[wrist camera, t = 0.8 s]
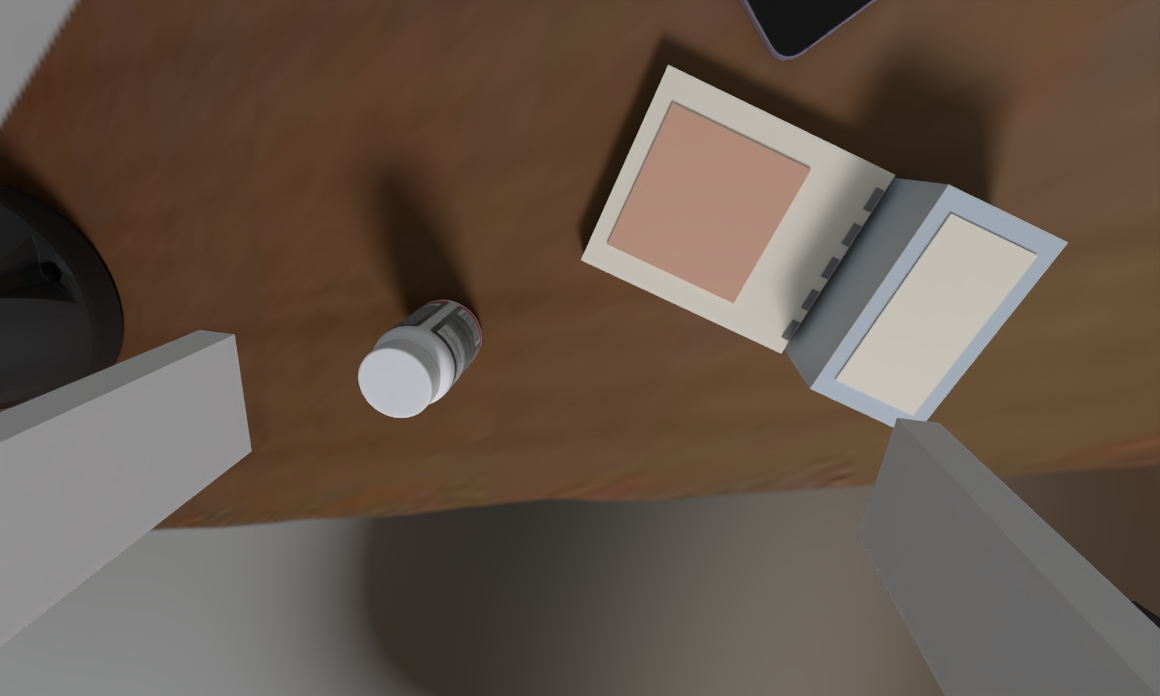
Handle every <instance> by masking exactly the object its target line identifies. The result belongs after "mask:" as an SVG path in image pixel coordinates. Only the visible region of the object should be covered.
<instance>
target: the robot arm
mask: <svg viewBox="0 0 1160 696" xmlns="http://www.w3.org/2000/svg"><path fill="white" fill-rule="evenodd" d="M122 339H123V321H122V313H121V308H120V304H119V300H118V297H117V294H116V291H115V288H114V286H113V283H112V281H111V279H110V277H109V275H108V273H107V271H106V269H105V267H104V266H103V264H102V262H101V261H100V259H99V257H98V256H97V254H96V253H95V252H94V250H93V249H92V248H91V246H90V245H89V244H88V243H87V241H86V240H85V239H84V238H83V237H82V236H81V235H80V233H79V232H78V231H77V230H76V229H75V228H74V227H73V226H72V225H71V224H69V223H68V222H67V221H66V220H65V219H64V218H63V217H61V216H60V215H59V214H58V213H56V212H55V211H54V210H52V209H51V208H49V207H48V206H46V205H45V204H43V203H42V202H40V201H38V200H36V199H35V198H33V197H31V196H29V195H27V194H24V193H22V192H19V191H17V190H14V189H11V188H8V187H4V186H0V409H5V408H10V409H7V410H5V411H3V412H0V646H1V645H3V644H4V643H5V642H7V641H8V640H9V639H11V638H12V637H13V636H14V635H16V634H17V633H18V632H20V631H21V630H22V629H23V628H25V627H26V626H27V625H29V624H30V623H31V622H32V621H34V620H35V619H36V618H38V617H39V616H40V615H41V614H43V613H44V612H45V611H47V610H48V609H49V608H50V607H52V606H53V605H54V604H56V603H57V602H58V601H59V600H61V599H62V598H63V597H65V596H66V595H67V594H68V593H70V592H71V591H72V590H74V589H75V588H76V587H78V586H79V585H80V584H81V583H83V582H84V581H85V580H87V579H88V578H89V577H90V576H92V575H93V574H94V573H96V572H97V571H98V570H99V569H101V568H102V567H103V566H104V565H106V564H107V563H108V562H110V561H111V560H112V559H113V558H115V557H116V556H117V555H118V554H120V553H121V552H122V551H124V550H125V549H126V548H127V547H129V546H130V545H132V544H133V543H134V542H135V541H137V540H138V539H139V538H140V537H142V536H143V535H144V534H146V533H147V532H148V531H150V530H151V529H152V528H153V527H155V526H156V525H157V524H159V523H160V522H161V521H162V520H164V519H165V518H166V517H168V516H169V515H170V514H171V513H173V512H174V511H175V510H177V509H178V508H179V507H180V506H182V505H183V504H184V503H186V502H187V501H188V500H189V499H191V498H192V497H193V496H195V495H196V494H197V493H198V492H200V491H201V490H202V489H204V488H205V487H206V486H207V485H209V484H210V483H211V482H213V481H214V480H215V479H216V478H218V477H219V476H220V475H222V474H223V473H224V472H225V471H227V470H228V469H229V468H231V467H232V466H233V465H234V464H236V463H237V462H238V461H240V460H241V459H242V458H243V457H245V456H246V455H247V454H249V453H250V452H251V444H250V437H249V430H248V423H247V416H246V410H245V403H244V396H243V389H242V382H241V375H240V368H239V361H238V354H237V348H236V341H235V335H234V334H226V333H218V332H210V331H202V330H198V331H196V332H194V333H191V334H189V335H186V336H184V337H182V338H179V339H177V340H174V341H172V342H169V343H167V344H165V345H162V346H160V347H157V348H155V349H152V350H150V351H148V352H145V353H143V354H140V355H138V356H136V357H133V358H131V359H128V360H126V361H123V362H121V363H119V364H116V365H115V363H116V361H117V359H118V356H119V353H120V350H121V345H122ZM11 407H12V408H11ZM858 538H859V540H860V542H861V544H862V546H863V548H864V549H865V551H866V553H867V555H868V557H869V559H870V560H871V562H872V564H873V566H874V568H875V569H876V571H877V573H878V575H879V576H880V579H881V580H882V582H883V584H884V586H885V588H886V589H887V591H888V593H889V595H890V597H891V598H892V600H893V602H894V604H895V606H896V608H897V609H898V611H899V613H900V615H901V617H902V619H903V620H904V622H905V624H906V626H907V628H908V629H909V631H910V633H911V635H912V637H913V639H914V640H915V642H916V644H917V646H918V648H919V649H920V651H921V653H922V655H923V657H924V658H925V660H926V662H927V664H928V666H929V668H930V669H931V671H932V673H933V675H934V676H935V678H936V680H937V682H938V684H939V686H940V688H941V689H942V691H943V693H944V695H945V696H1160V618H1159V617H1158V616H1156V615H1155V614H1153V613H1152V612H1150V611H1149V610H1147V609H1146V608H1144V607H1143V606H1141V605H1140V604H1138V603H1137V602H1135V601H1130V600H1128V599H1127V598H1126V597H1125V596H1124V595H1123V594H1122V593H1121V592H1120V591H1119V590H1118V589H1117V588H1116V587H1115V586H1113V585H1112V584H1111V583H1110V582H1109V581H1108V580H1107V579H1106V578H1105V577H1104V576H1103V575H1101V573H1099V572H1098V571H1097V570H1096V569H1095V568H1094V567H1093V566H1092V565H1091V564H1090V563H1089V562H1088V561H1087V560H1086V559H1085V558H1083V557H1082V556H1081V555H1080V554H1079V553H1078V552H1077V551H1076V550H1075V549H1074V548H1073V547H1072V546H1071V545H1070V544H1068V543H1067V542H1066V541H1065V540H1064V539H1063V538H1062V537H1061V536H1060V535H1059V534H1058V533H1057V532H1056V531H1054V530H1053V529H1052V528H1051V527H1050V526H1049V525H1048V524H1047V523H1046V522H1045V521H1044V520H1043V519H1042V518H1040V517H1039V516H1038V515H1037V514H1036V513H1035V512H1034V511H1033V510H1032V509H1031V508H1030V507H1029V506H1028V505H1026V503H1024V502H1023V501H1022V500H1021V499H1020V498H1019V497H1018V496H1017V495H1016V494H1015V493H1014V492H1013V491H1012V490H1011V489H1009V488H1008V487H1007V486H1006V485H1005V484H1004V483H1003V482H1002V481H1001V480H1000V479H999V478H998V477H997V476H996V475H994V474H993V473H992V472H991V471H990V470H989V469H988V468H987V467H986V466H985V465H984V464H983V463H982V462H981V461H979V460H978V459H977V458H976V457H975V456H974V455H973V454H972V453H971V452H970V451H969V450H968V449H967V448H965V447H964V446H963V445H962V444H961V443H960V442H959V441H958V440H957V439H956V438H955V437H954V436H953V435H952V434H950V433H949V432H948V431H947V430H946V429H945V428H944V427H943V426H942V425H941V424H940V423H934V422H926V421H918V420H910V419H903V418H897V419H896V422H895V425H894V428H893V431H892V434H891V437H890V440H889V443H888V446H887V449H886V452H885V455H884V458H883V461H882V464H881V467H880V470H879V473H878V476H877V479H876V482H875V485H874V488H873V491H872V495H871V498H870V501H869V504H868V507H867V510H866V513H865V516H864V519H863V522H862V525H861V528H860V531H859V534H858Z"/></svg>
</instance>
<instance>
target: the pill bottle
mask: <svg viewBox="0 0 1160 696" xmlns="http://www.w3.org/2000/svg"><path fill="white" fill-rule="evenodd" d="M481 343H482V332H481V328H480V325H479V323H478V321H477V319H476V317H475V316H474V315H473V313H472V312H471V311H470V310H468V309H467V308H466V307H464V306H463V305H461V304H459V303H457V302H454V301H451V300H436V301H432V302H429V303H427V304H426V305H424V306H422V307H421V308H420V309H418V310H417V311H415V312H414V313H413V314H411V315H410V316H408V317H407V318H406V319H404V320H403V321H401V322H400V323H398V324H397V325H396V326H394V327H393V328H392V329H390V330H389V331H387V332H386V333H385V334H384V335H383V336H382V337H381V338H380V339H379V340H378V342H377V343H376V345H375V347H374V349H373V351H371V352H370V353H369V354H368V355H367V356H366V357H365V358H364V360H363V361H362V363H361V365H360V368H359V373H358V381H359V385H360V389H361V391H362V394H363V395H364V397H365V398H366V400H367V401H368V402H369V404H370V405H372V406H373V407H374V408H375V409H376V410H378V411H379V412H381V413H383V414H385V415H388V416H391V417H396V418H407V417H411V416H414V415H416V414H418V413H420V412H421V411H422V410H424V409H425V408H426V406H427V405H428V404H431V403H433V402H435V401H437V400H439V399H440V398H441V397H442V396H444V395H445V394H446V392H447V391H448V390H449V389H450V388H451V386H452V385H453V384H454V383H455V382H456V380H457V379H458V378H459V377H460V375H461V374H462V373H463V372H464V370H465V369H466V368H467V367H468V366H469V364H470V363H471V362H472V361H473V359H474V358H475V357H476V355H477V354H478V352H479V350H480V347H481Z"/></svg>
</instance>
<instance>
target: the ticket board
mask: <svg viewBox="0 0 1160 696" xmlns="http://www.w3.org/2000/svg"><path fill="white" fill-rule="evenodd" d="M894 176H895V174H892V173H890V172H888V171H886V170H884V169H882V168H880V167H878V166H876V165H874V164H872V163H870V162H868V161H866V160H864V159H862V158H860V157H857V156H855V155H853V154H851V153H849V152H847V151H845V150H843V149H841V148H839V147H837V146H835V145H833V144H831V143H829V142H827V141H824V140H822V139H820V138H818V137H816V136H814V135H812V134H810V133H808V132H806V131H804V130H802V129H800V128H798V127H796V126H794V125H791V124H789V123H787V122H785V121H783V120H781V119H779V118H777V117H775V116H773V115H771V114H769V113H767V112H765V111H763V110H761V109H758V108H756V107H754V106H752V105H750V104H748V103H746V102H744V101H742V100H740V99H738V98H736V97H734V96H732V95H730V94H728V93H725V92H723V91H721V90H719V89H717V88H715V87H713V86H711V85H709V84H707V83H705V82H703V81H701V80H699V79H697V78H695V77H693V76H690V75H688V74H686V73H684V72H682V71H680V70H678V69H676V68H674V67H672V66H670V65H668V67H667V69H666V71H665V73H664V75H663V78H662V80H661V82H660V84H659V87H658V89H657V91H656V93H655V96H654V98H653V100H652V102H651V105H650V107H649V109H648V111H647V113H646V116H645V118H644V120H643V122H642V125H641V127H640V129H639V131H638V134H637V136H636V138H635V140H634V142H633V145H632V147H631V149H630V151H629V154H628V156H627V158H626V160H625V163H624V165H623V167H622V169H621V172H620V174H619V176H618V178H617V180H616V183H615V185H614V187H613V189H612V192H611V194H610V196H609V198H608V201H607V203H606V205H605V207H604V210H603V212H602V214H601V216H600V218H599V221H598V223H597V225H596V227H595V230H594V232H593V234H592V236H591V239H590V241H589V243H588V245H587V247H586V250H585V252H584V254H583V256H582V259H581V260H582V261H584V262H586V263H588V264H590V265H593V266H595V267H597V268H599V269H601V270H603V271H605V272H608V273H610V274H612V275H614V276H616V277H618V278H620V279H623V280H625V281H627V282H629V283H631V284H633V285H635V286H638V287H640V288H642V289H644V290H646V291H648V292H650V293H653V294H655V295H657V296H659V297H661V298H663V299H665V300H668V301H670V302H672V303H674V304H676V305H678V306H680V307H683V308H685V309H687V310H689V311H691V312H693V313H695V314H698V315H700V316H702V317H704V318H706V319H708V320H710V321H713V322H715V323H717V324H719V325H721V326H723V327H725V328H728V329H730V330H732V331H734V332H736V333H738V334H740V335H743V336H745V337H747V338H749V339H751V340H753V341H755V342H758V343H760V344H762V345H764V346H766V347H768V348H770V349H773V350H775V351H777V352H779V353H782V352H783V350H784V349H785V347H786V346H787V344H788V342H789V341H790V339H791V338H792V336H793V335H794V333H795V331H796V330H797V328H798V327H799V325H800V324H801V322H802V321H803V319H804V317H805V316H806V314H807V313H808V311H809V310H810V308H811V306H812V305H813V303H814V302H815V300H816V299H817V297H818V295H819V294H820V292H821V291H822V289H823V288H824V286H825V284H826V283H827V281H828V280H829V278H830V277H831V275H832V274H833V272H834V270H835V269H836V267H837V266H838V264H839V263H840V261H841V259H842V258H843V256H844V255H845V253H846V252H847V250H848V248H849V247H850V245H851V244H852V242H853V241H854V239H855V238H856V236H857V234H858V233H859V231H860V230H861V228H862V227H863V225H864V223H865V222H866V220H867V219H868V217H869V216H870V214H871V212H872V211H873V209H874V208H875V206H876V205H877V203H878V202H879V200H880V198H881V197H882V195H883V194H884V192H885V191H886V189H887V187H888V186H889V184H890V183H891V181H892V180H893V178H894Z"/></svg>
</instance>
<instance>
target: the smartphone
mask: <svg viewBox="0 0 1160 696" xmlns="http://www.w3.org/2000/svg"><path fill="white" fill-rule="evenodd" d="M739 1H740V2H741V4H742V6H743V8H744V9H745V11H746V13H747V15H748V16H749V18H750V20H751V22H752V23H753V25H754V27H755V29H756V31H757V32H758V34H759V36H760V38H761V39H762V41H763V43H764V45H765V46H766V48H767V50H768V51H769V53H770V54H771V55H772V56H773V57H774V58H776V59H778V60H782V61H787V60H791V59H794V58H796V57H798V56H799V55H801V54H803V53H804V52H806V51H807V50H808V49H810V48H811V47H812V46H814V45H815V44H816V43H818V42H819V41H821V40H822V39H823V38H825V37H826V36H827V35H830V34H832V33H833V32H834V31H836V30H837V29H838V27H840V26H841V25H842V24H844V23H845V22H848V21H849V20H850V19H852V18H853V17H854V16H856V15H857V14H858V13H860V12H861V11H863V10H864V9H865V8H867V6H868V5H869V4H871V3H873V2H875V1H876V0H739Z"/></svg>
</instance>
